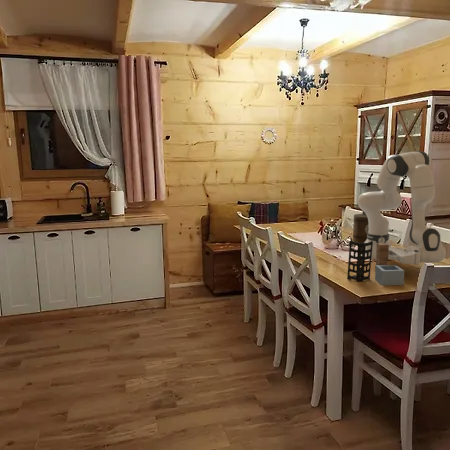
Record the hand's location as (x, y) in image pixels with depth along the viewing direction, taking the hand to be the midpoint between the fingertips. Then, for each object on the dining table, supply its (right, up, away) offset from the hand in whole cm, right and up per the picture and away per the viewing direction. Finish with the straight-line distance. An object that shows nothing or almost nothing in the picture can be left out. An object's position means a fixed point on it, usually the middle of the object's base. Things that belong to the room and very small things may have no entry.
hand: (384, 255), depth 214 cm
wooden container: (+16, +4, +80) cm, 82 cm away
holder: (-15, -12, -7) cm, 20 cm away
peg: (-1, -10, +2) cm, 10 cm away
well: (-2, -12, -11) cm, 16 cm away
